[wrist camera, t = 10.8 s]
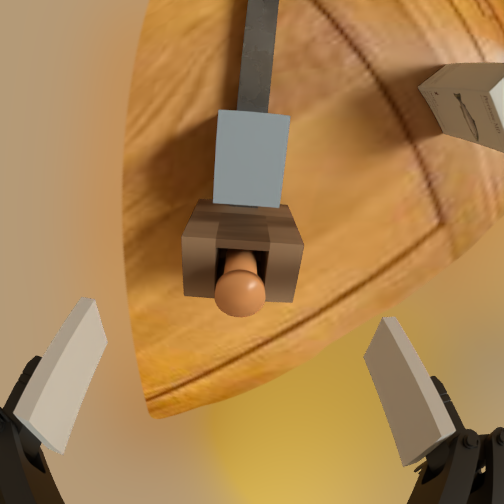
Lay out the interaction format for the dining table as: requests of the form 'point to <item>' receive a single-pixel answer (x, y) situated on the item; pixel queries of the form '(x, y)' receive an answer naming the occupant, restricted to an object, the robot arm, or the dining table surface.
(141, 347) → the dining table surface
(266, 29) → the rail
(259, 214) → the end block
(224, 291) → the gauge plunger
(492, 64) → the supplement box
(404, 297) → the dining table surface
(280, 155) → the block
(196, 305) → the dining table surface
